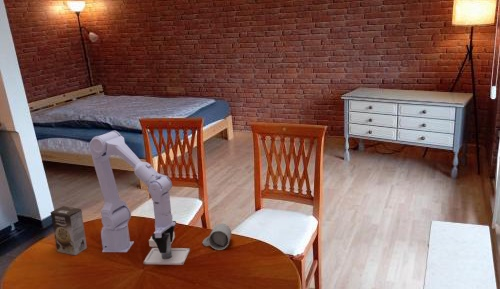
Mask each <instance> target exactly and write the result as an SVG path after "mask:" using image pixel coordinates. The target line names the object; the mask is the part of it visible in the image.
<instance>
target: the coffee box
mask: <svg viewBox="0 0 500 289" xmlns="http://www.w3.org/2000/svg"><path fill="white" fill-rule="evenodd" d="M50 217H51V223H52V227H53V235H54V242H55V245H56V251H57V252H58V253H62V254H67V255H72V256H77V255H78V254H80V253H81V252H83V251H85V250H86V249H87V248H88V246H87V239H86V233H85V226H84V219H83V210H82V208H76V207H70V206H64V205H62V206H60V207H58V208H55V209H53V210H51V211H50Z"/></svg>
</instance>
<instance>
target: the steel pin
mask: <svg viewBox="0 0 500 289" xmlns="http://www.w3.org/2000/svg"><path fill="white" fill-rule="evenodd" d="M163 233H164V235H169V237H168V240H167V251H166V253H161V256H162V259H170V258H171V257H172V252H171V248H172V243H171V242H170V233H169V232H168V231H164V232H163Z"/></svg>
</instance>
